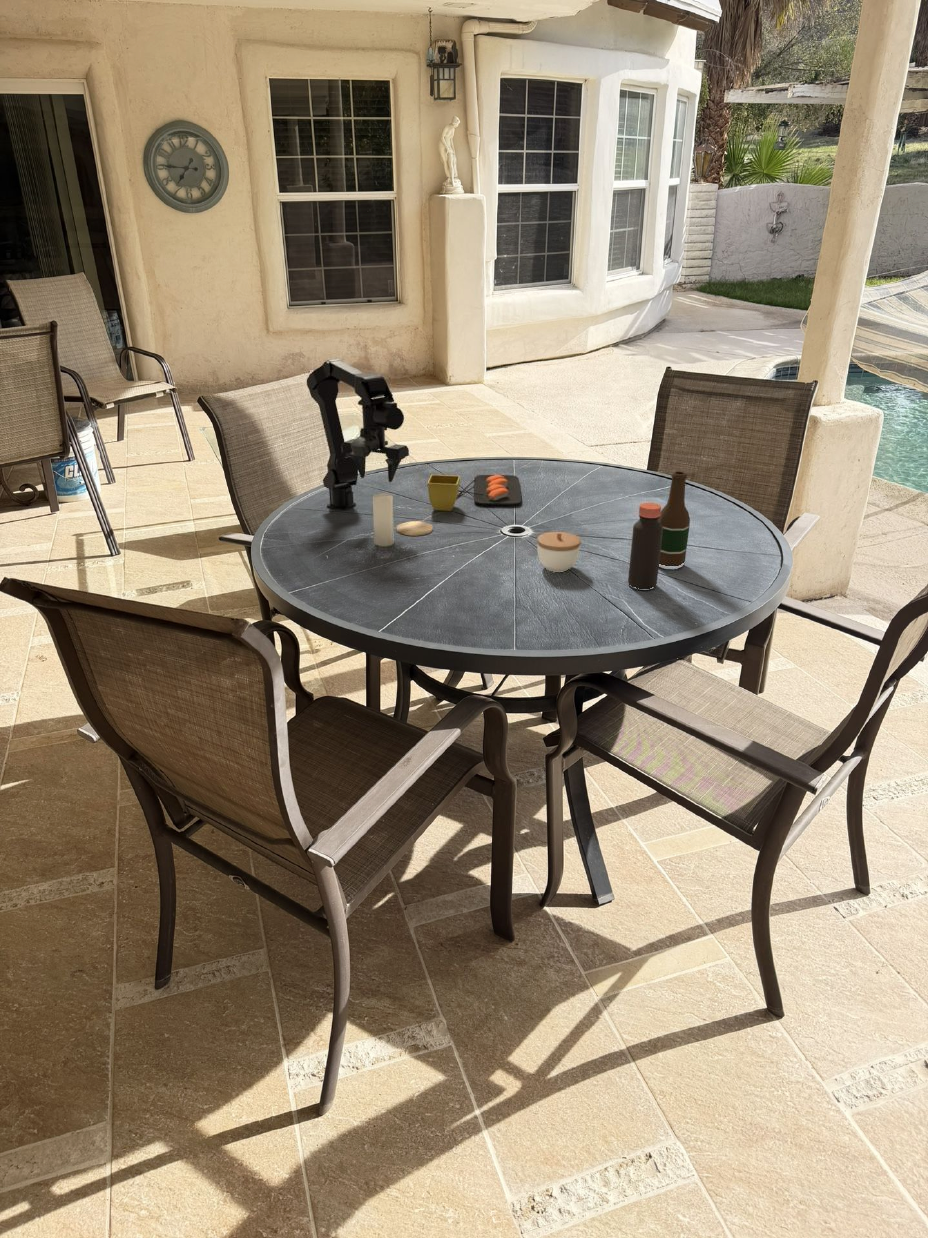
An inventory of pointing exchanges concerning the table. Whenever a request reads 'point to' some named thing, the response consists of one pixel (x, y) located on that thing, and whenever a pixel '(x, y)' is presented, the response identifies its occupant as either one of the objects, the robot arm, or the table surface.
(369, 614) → the table surface
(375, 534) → the cream glossy rounded body
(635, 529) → the vinegar
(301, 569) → the table surface
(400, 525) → the cork coaster
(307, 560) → the table surface
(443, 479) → the flower pot
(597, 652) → the table surface
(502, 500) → the sushi plate
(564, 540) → the lidded jar
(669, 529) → the beer bottle
